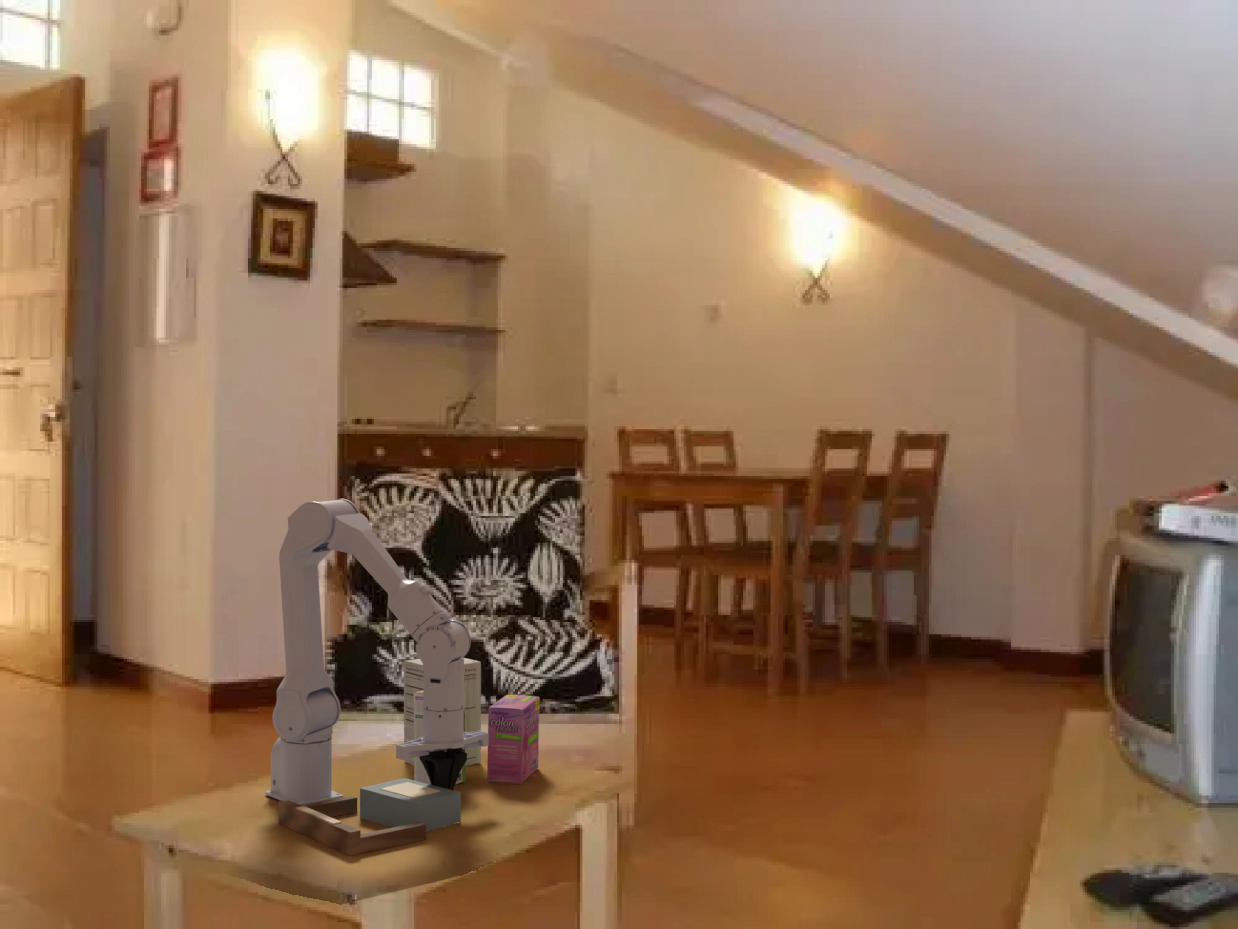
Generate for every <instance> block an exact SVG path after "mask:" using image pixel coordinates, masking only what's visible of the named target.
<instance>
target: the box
mask: <svg viewBox="0 0 1238 929" xmlns="http://www.w3.org/2000/svg"><path fill="white" fill-rule="evenodd" d="M540 699H541V698H540V696H537V695H525V694H523V695H522V694H521V695H520V694H506V695H504V696H503V697H501V698H500V699H499V700H497V701H496V702H494V703H493V704H492V705H490V706H489V707H488V712H487V713H488V714H487V715H488V716H487V718H488V719H487V722H488V724H487V733H489V742H488V746H487V770H486V772H487V773H486V774H487V775H486V780H487V783H495V784H496V783H497V784H509V785H510V784H511V785H522V784H523V783H524V782H525V781H526V780H527V779H528V778H529V777H530V776H531V775H532V774H533V773H534V772H536V771H537V770H538V769H539V737H540V736H539V735H540V734H539V732H540V731H539V730H540V729H539V728H540V727H539V725H540V702H541V701H540Z"/></svg>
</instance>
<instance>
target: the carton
mask: <svg viewBox="0 0 1238 929" xmlns="http://www.w3.org/2000/svg"><path fill="white" fill-rule="evenodd" d="M461 808H462V792H461V791H456V790H454V791H453V790H449V789H445V788H441V787H437V786H434V785H430V784H426V783H422V782H418V781H414V779H410V778H406V777H402V778H397V779H394V780H390V781H389V780H388V781H385V782H380V783H376V784H372V785H368V786H363V787H360V788H359V819H362V820H365V821H368V822H373V823H376V822H377V823H376V824H379V823H380V825H382V824H383V825H384V826H387V827H389V828H393V827H398V826H403V825H408V824H412V823H417V822H421V823H424V824H426V833H427V832H432V831H435V830H438V829H437V828H439V829H442V827H443V828H445V827H444V826H446V827H449V826H448V825H450V826H452V825H451V824H454V823H457V822H462V820H461V819H462V818H461V817H462V816H461V815H462V809H461ZM457 824H458V823H457ZM454 825H455V824H454ZM434 829H435V830H434ZM431 830H432V831H431Z"/></svg>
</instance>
